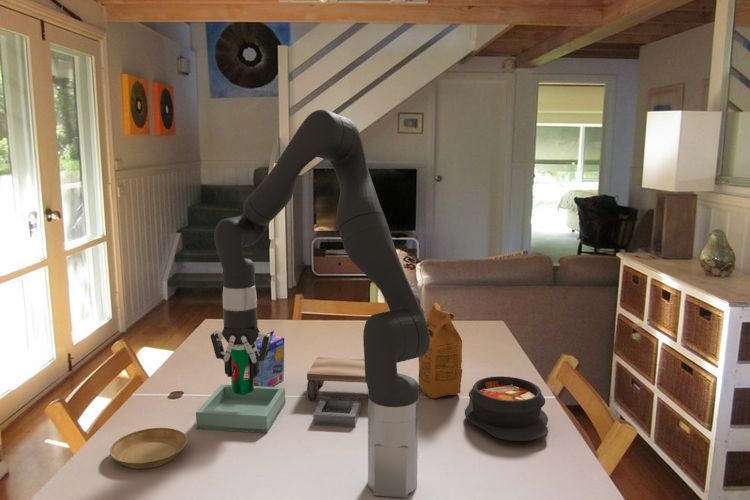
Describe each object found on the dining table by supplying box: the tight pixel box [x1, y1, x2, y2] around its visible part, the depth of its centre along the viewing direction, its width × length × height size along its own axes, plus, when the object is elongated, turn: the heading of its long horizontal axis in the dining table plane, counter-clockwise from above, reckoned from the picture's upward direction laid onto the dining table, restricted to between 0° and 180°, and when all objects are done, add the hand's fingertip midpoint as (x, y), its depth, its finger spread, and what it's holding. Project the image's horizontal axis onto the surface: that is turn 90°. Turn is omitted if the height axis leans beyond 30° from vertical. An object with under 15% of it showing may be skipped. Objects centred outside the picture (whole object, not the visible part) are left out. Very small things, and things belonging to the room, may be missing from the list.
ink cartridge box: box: [254, 330, 285, 387], centre depth 163 cm, size 10×6×14 cm, turn 152°
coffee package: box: [418, 302, 463, 399], centre depth 159 cm, size 10×12×22 cm
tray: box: [195, 384, 286, 434], centre depth 145 cm, size 16×16×4 cm
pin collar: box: [313, 397, 362, 428], centre depth 145 cm, size 9×9×2 cm
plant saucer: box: [109, 427, 188, 470], centre depth 127 cm, size 15×15×3 cm
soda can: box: [230, 344, 254, 395], centre depth 144 cm, size 5×5×12 cm
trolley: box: [306, 356, 367, 401], centre depth 158 cm, size 14×18×7 cm
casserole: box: [464, 375, 549, 442], centre depth 142 cm, size 25×19×8 cm
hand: (242, 376), depth 144 cm, fingers closed on soda can, 5 cm apart
